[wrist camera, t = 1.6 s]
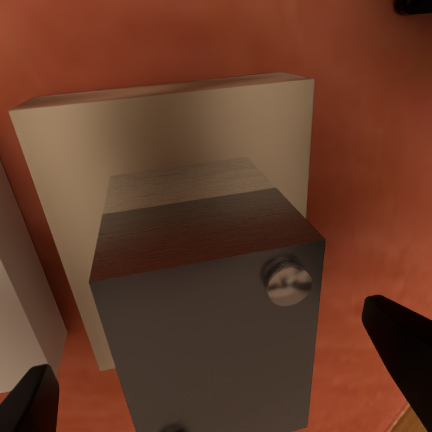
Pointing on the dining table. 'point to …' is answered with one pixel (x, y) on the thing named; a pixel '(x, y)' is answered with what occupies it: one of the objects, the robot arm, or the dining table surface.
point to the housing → (208, 298)
